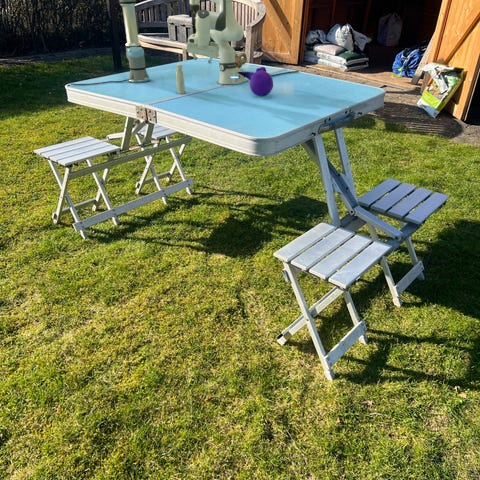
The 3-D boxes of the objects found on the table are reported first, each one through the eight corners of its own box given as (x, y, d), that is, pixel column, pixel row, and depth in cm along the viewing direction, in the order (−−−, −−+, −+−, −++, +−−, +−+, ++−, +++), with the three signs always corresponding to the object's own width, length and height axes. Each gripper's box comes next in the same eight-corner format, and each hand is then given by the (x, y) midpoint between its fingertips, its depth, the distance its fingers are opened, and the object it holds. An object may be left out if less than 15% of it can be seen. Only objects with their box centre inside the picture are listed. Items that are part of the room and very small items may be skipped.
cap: (182, 67, 296) (181, 64, 295) (182, 68, 293) (182, 65, 292) (176, 68, 296) (175, 64, 294) (176, 69, 292) (175, 65, 291)
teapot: (227, 72, 361) (226, 52, 354) (220, 70, 370) (219, 51, 362) (250, 70, 371) (249, 50, 363) (242, 68, 379) (242, 48, 372)
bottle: (184, 91, 304) (182, 64, 296) (185, 93, 300) (182, 65, 291) (177, 92, 304) (175, 64, 295) (177, 93, 300) (175, 66, 291)
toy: (257, 88, 307) (273, 101, 287) (234, 84, 300) (248, 97, 279) (264, 65, 299) (280, 76, 279) (240, 59, 292) (255, 71, 271)
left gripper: (203, 5, 329) (204, 36, 339) (195, 3, 349) (197, 33, 360) (193, 5, 327) (195, 37, 338) (186, 4, 347) (188, 34, 358)
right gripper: (220, 41, 269) (219, 62, 280) (189, 33, 272) (189, 55, 283) (217, 46, 266) (216, 67, 276) (185, 38, 268) (185, 60, 279)
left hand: (196, 35), depth 349 cm, fingers open, 13 cm apart
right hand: (202, 61), depth 280 cm, fingers open, 8 cm apart
